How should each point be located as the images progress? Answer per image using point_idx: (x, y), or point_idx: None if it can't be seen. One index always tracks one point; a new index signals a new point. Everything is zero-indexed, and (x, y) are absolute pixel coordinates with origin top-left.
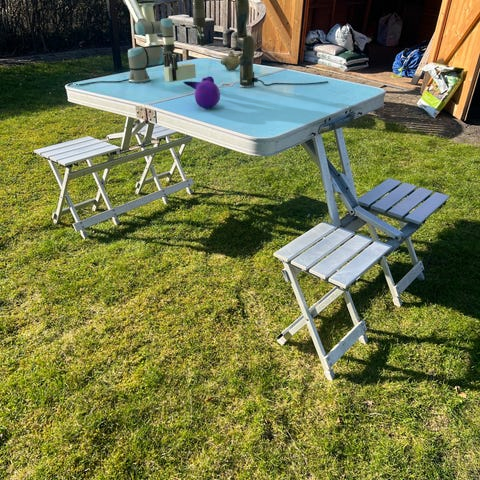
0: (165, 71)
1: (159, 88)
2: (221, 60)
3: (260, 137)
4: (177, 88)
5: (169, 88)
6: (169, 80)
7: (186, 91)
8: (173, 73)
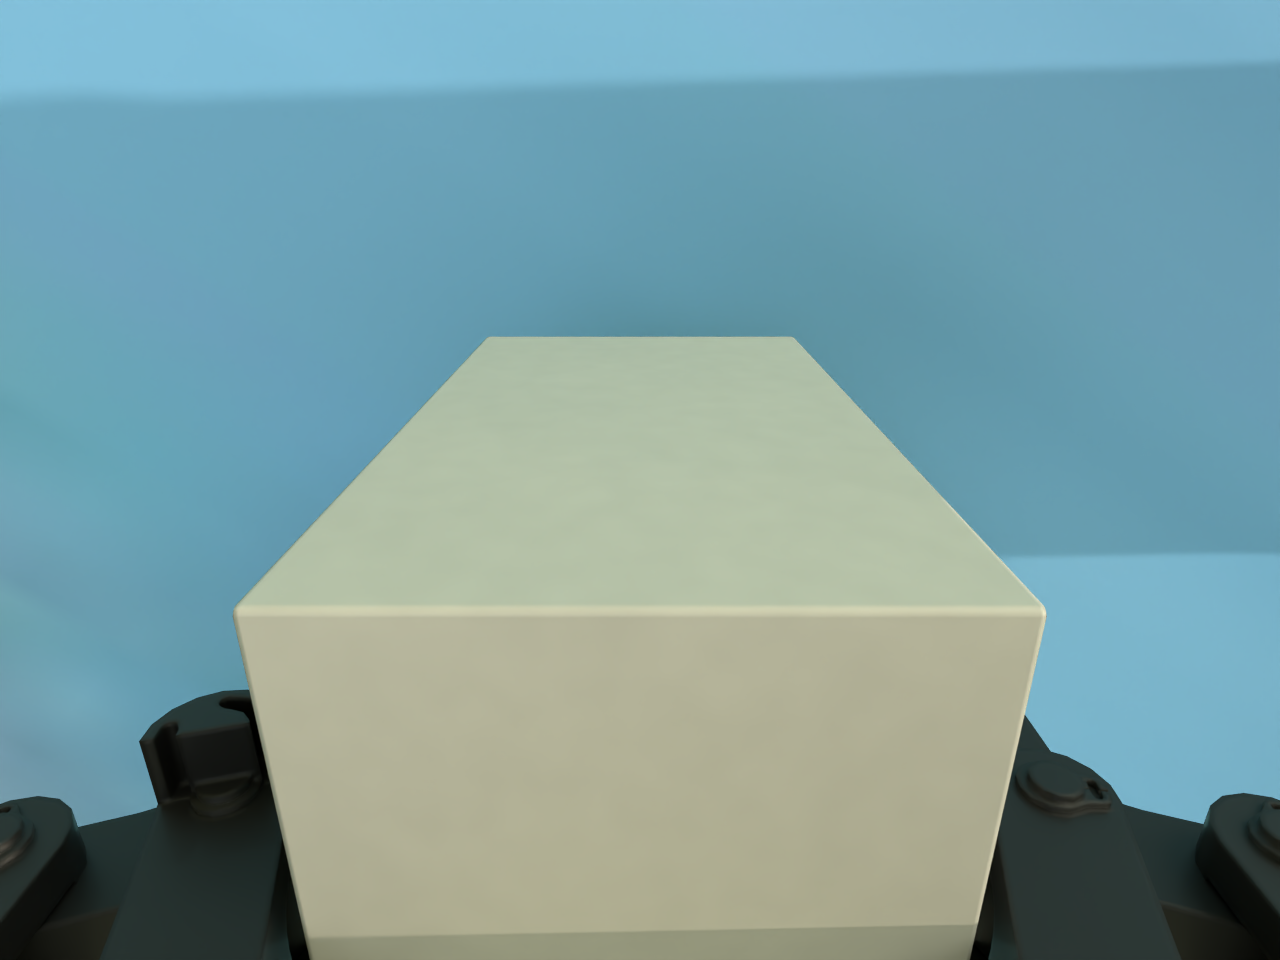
0: (749, 469)
1: (900, 131)
2: None
3: None
4: None
5: None
6: (475, 353)
7: (12, 458)
8: None
